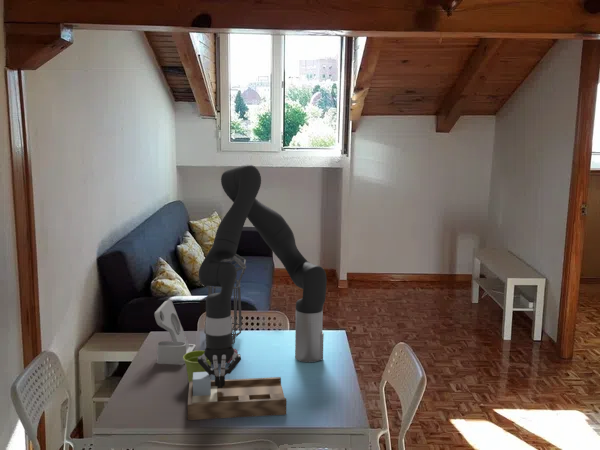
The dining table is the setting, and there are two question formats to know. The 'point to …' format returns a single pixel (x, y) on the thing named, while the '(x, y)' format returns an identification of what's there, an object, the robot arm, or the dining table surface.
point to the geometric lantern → (234, 295)
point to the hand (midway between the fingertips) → (219, 387)
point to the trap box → (239, 399)
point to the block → (201, 384)
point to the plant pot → (194, 363)
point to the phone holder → (168, 349)
